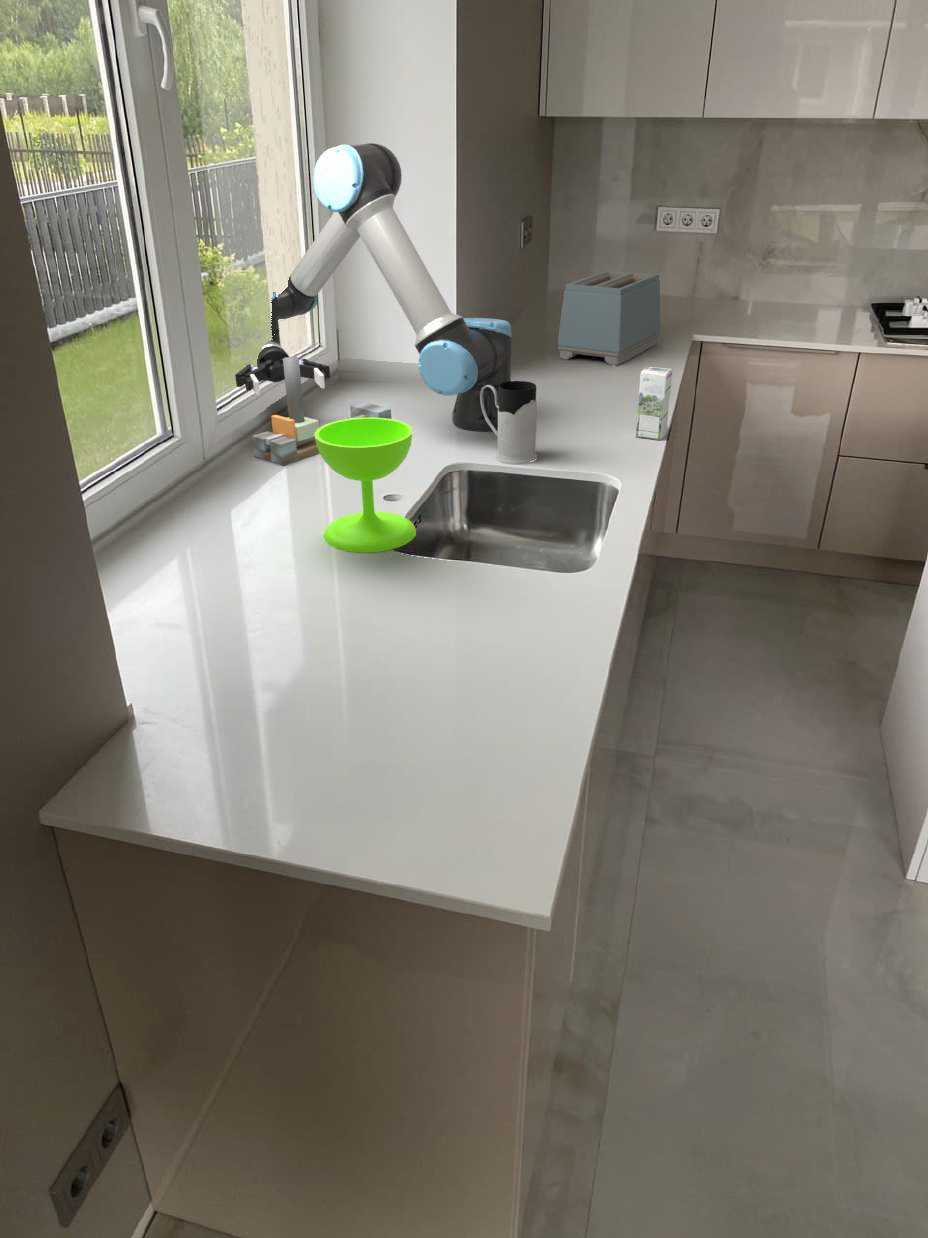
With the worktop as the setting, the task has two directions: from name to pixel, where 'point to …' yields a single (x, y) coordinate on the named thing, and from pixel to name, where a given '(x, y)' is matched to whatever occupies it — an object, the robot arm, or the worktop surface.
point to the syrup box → (653, 403)
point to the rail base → (293, 450)
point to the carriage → (297, 400)
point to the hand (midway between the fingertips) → (290, 385)
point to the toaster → (610, 316)
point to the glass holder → (515, 421)
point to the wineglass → (366, 480)
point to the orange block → (282, 428)
